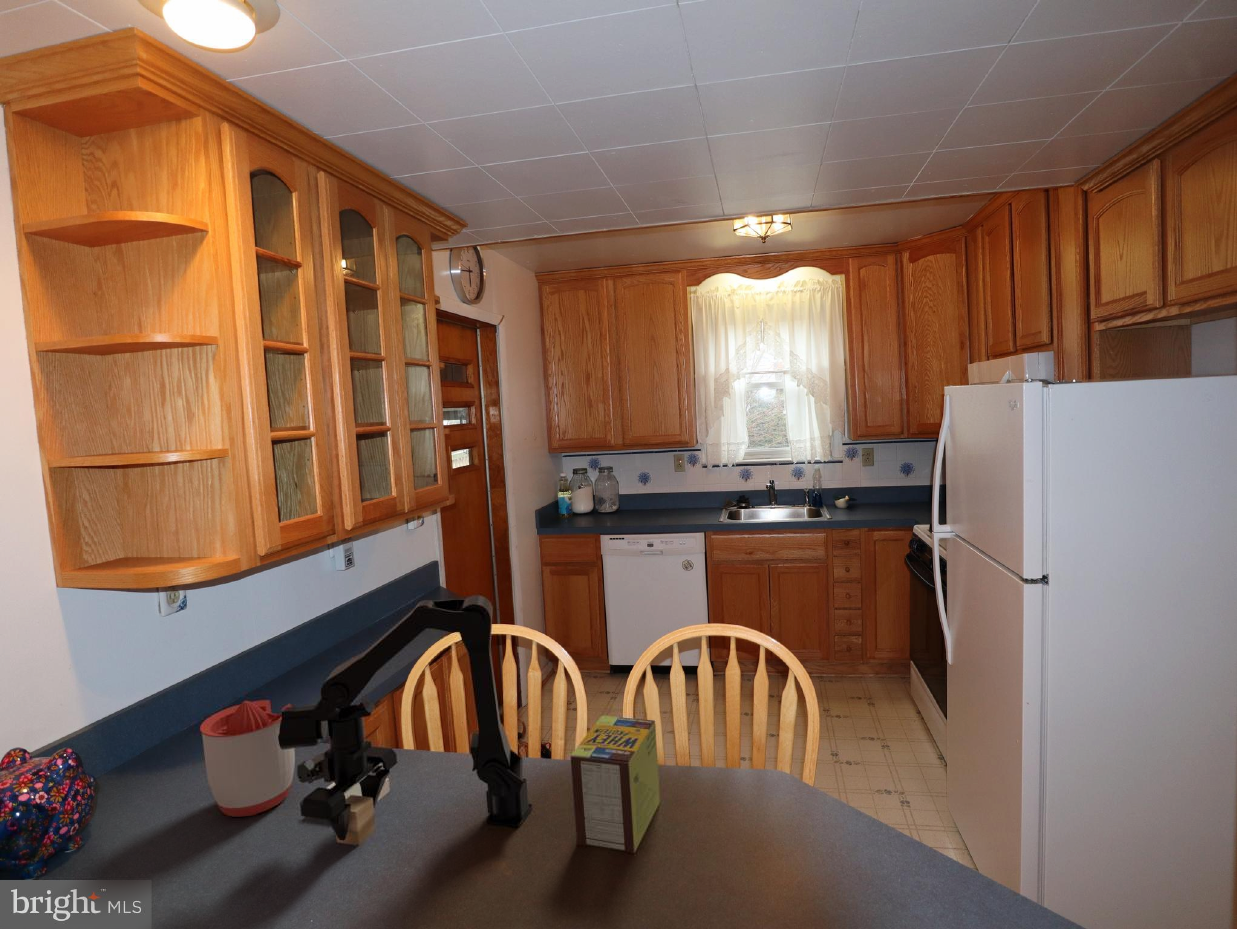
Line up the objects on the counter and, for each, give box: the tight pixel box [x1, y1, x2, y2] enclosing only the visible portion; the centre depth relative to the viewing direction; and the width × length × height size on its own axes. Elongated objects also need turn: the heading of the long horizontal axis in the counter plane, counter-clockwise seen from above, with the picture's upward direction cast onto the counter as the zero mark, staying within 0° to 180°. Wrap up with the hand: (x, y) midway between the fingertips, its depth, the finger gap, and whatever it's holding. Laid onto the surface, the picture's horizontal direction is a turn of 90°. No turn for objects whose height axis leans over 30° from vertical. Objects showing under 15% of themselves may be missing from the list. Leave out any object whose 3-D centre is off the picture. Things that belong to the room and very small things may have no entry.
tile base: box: [326, 777, 391, 802], centre depth 134 cm, size 10×10×3 cm
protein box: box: [569, 715, 661, 854], centre depth 122 cm, size 10×15×16 cm
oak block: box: [335, 795, 377, 846], centre depth 123 cm, size 4×4×6 cm
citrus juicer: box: [199, 699, 296, 818], centre depth 136 cm, size 16×17×20 cm
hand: (355, 827), depth 123 cm, fingers open, 7 cm apart
